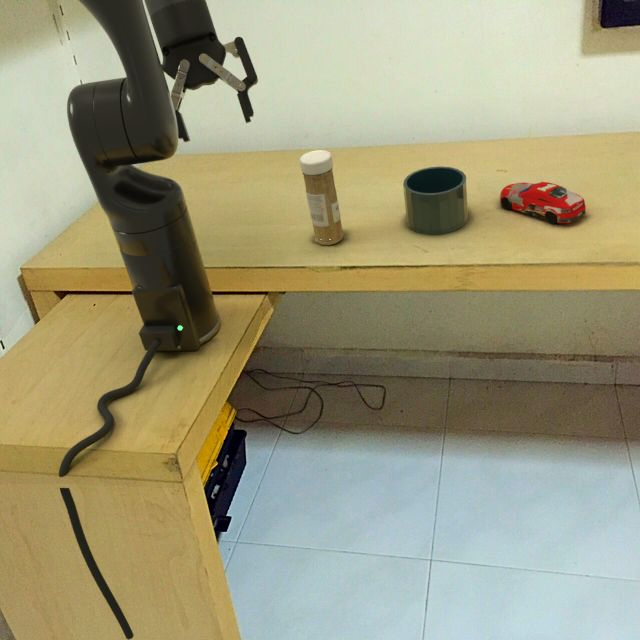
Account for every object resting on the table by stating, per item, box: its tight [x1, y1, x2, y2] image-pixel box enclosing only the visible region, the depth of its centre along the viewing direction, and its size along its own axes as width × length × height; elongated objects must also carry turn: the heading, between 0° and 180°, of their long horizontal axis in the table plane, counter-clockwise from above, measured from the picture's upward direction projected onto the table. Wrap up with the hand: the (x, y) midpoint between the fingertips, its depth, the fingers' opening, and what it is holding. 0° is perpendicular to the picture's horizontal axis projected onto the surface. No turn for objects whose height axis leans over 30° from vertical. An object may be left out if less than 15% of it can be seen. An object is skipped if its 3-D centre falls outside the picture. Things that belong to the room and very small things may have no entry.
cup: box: [402, 166, 469, 236], centre depth 111 cm, size 9×9×6 cm
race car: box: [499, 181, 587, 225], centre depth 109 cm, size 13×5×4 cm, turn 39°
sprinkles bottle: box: [299, 149, 345, 246], centre depth 109 cm, size 5×5×14 cm
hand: (218, 131), depth 99 cm, fingers open, 8 cm apart
